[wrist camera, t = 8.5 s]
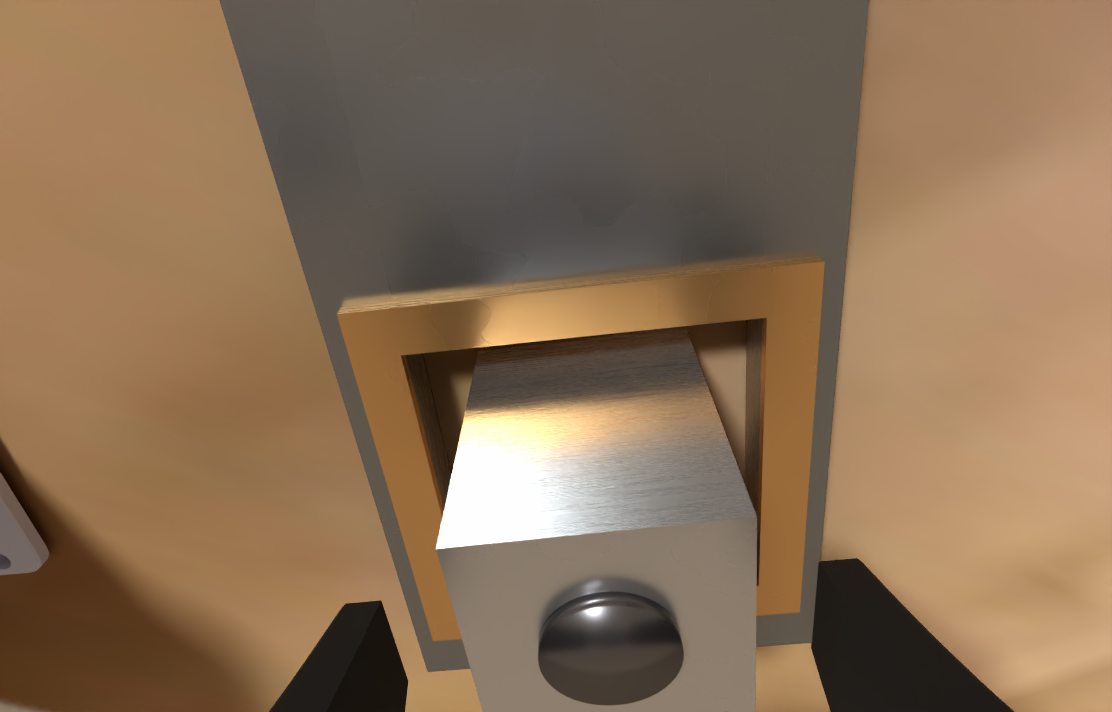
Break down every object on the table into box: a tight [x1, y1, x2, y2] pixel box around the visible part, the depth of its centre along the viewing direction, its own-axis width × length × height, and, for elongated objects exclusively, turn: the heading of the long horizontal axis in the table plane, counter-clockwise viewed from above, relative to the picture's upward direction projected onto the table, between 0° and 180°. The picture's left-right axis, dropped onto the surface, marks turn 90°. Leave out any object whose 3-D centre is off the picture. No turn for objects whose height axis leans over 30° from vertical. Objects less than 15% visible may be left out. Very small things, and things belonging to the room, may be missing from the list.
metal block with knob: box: [436, 327, 757, 712], centre depth 13 cm, size 4×4×6 cm
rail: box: [220, 0, 869, 672], centre depth 12 cm, size 10×26×2 cm, turn 7°
